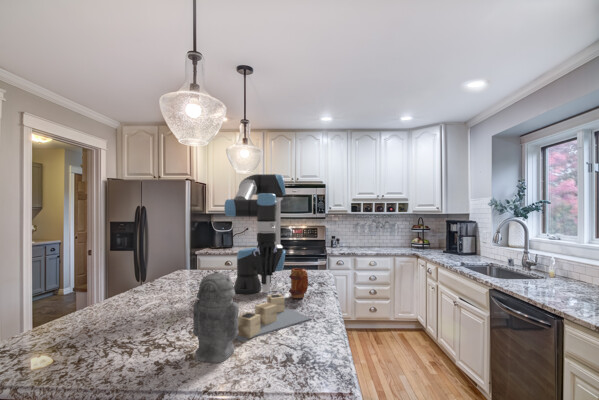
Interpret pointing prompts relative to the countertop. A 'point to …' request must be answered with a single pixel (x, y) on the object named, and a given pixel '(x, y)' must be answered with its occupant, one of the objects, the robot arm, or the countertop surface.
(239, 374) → the countertop surface
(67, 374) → the countertop surface
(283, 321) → the mat
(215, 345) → the figurine
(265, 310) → the plain block
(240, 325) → the labelled block
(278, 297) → the labelled block
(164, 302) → the countertop surface
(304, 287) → the mug
